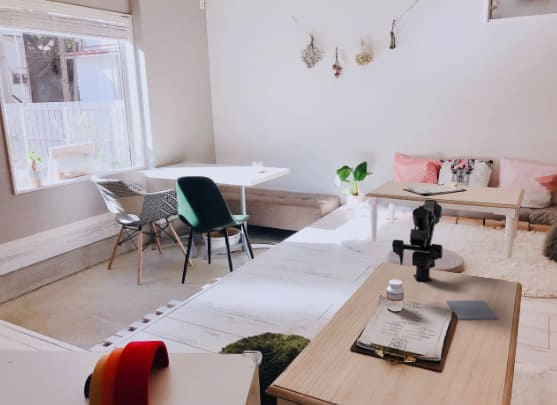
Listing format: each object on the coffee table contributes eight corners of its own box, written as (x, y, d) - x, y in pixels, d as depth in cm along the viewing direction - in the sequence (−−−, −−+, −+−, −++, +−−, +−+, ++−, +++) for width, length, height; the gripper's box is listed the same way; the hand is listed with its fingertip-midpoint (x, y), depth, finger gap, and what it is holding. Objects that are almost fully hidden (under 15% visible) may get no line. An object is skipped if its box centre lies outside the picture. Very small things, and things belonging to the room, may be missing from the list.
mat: (446, 302, 184) (446, 300, 184) (482, 301, 184) (483, 300, 183) (458, 319, 170) (459, 318, 170) (498, 319, 170) (498, 317, 170)
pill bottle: (393, 303, 184) (394, 277, 181) (406, 309, 179) (407, 282, 177) (383, 308, 180) (383, 281, 177) (396, 314, 175) (397, 286, 173)
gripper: (394, 219, 188) (386, 250, 179) (444, 223, 180) (438, 256, 171) (397, 237, 196) (389, 267, 187) (444, 242, 188) (439, 274, 179)
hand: (413, 266), depth 181 cm, fingers open, 9 cm apart
